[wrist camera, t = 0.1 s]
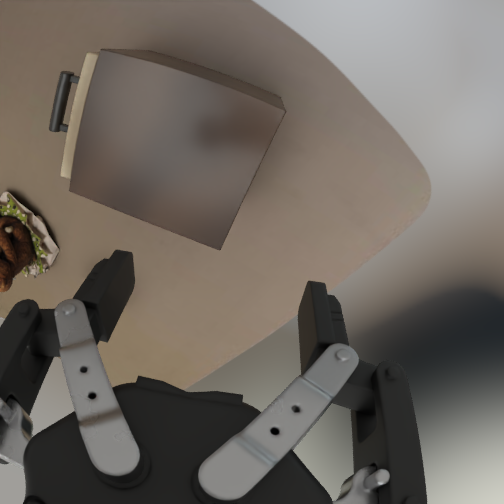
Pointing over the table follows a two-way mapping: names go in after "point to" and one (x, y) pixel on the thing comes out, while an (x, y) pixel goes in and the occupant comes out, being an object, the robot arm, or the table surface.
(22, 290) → the table surface
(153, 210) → the cabinet
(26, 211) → the bear figurine
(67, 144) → the drawer
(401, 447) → the robot arm
